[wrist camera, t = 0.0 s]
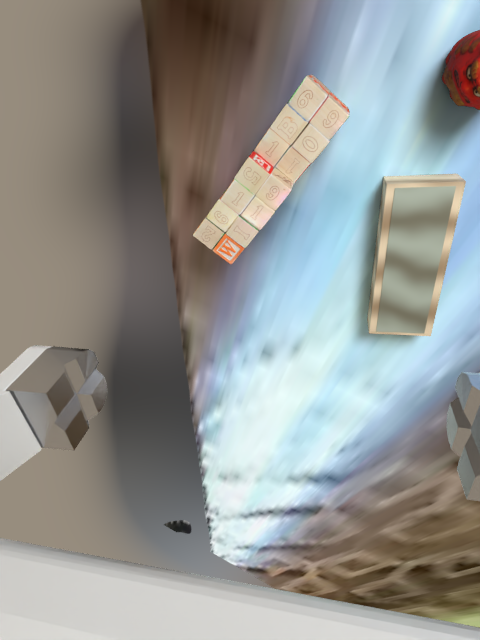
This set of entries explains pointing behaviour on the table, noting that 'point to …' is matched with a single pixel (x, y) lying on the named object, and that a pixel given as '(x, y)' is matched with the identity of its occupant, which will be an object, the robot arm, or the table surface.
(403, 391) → the table surface
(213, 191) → the table surface
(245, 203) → the stack of blocks
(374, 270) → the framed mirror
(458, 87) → the red clay folk toy
